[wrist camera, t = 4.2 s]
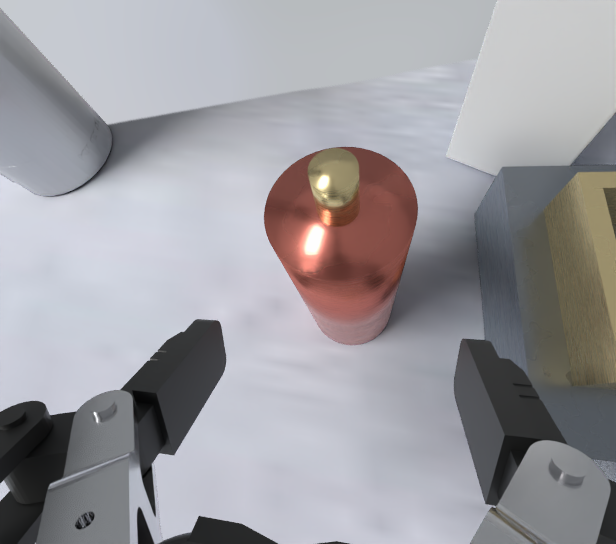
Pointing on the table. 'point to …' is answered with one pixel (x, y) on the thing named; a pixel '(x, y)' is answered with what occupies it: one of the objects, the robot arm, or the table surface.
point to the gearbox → (555, 291)
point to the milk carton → (538, 85)
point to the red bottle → (343, 237)
